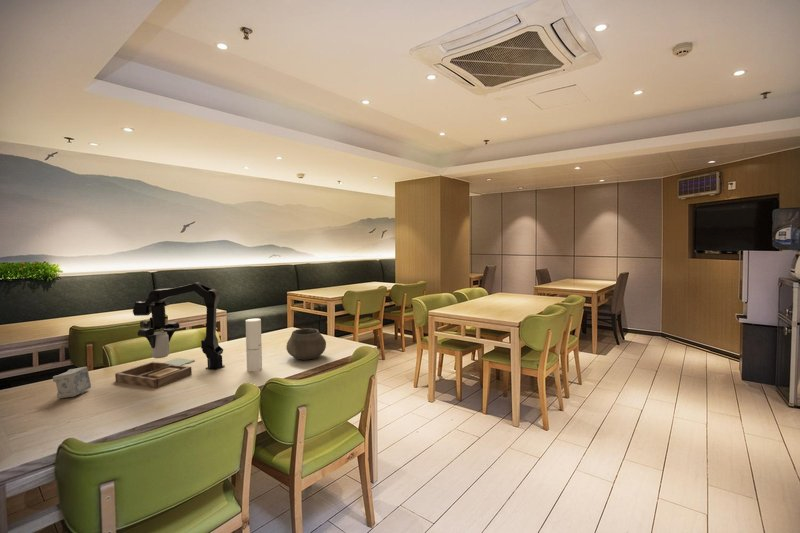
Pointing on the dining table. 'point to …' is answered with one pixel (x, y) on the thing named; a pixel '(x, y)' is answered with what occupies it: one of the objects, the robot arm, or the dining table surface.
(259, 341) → the cylindrical container
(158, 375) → the offcut top
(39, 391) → the dining table surface
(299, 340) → the clay pot
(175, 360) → the mat
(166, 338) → the can
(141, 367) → the wooden divided tray
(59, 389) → the grey stone block
